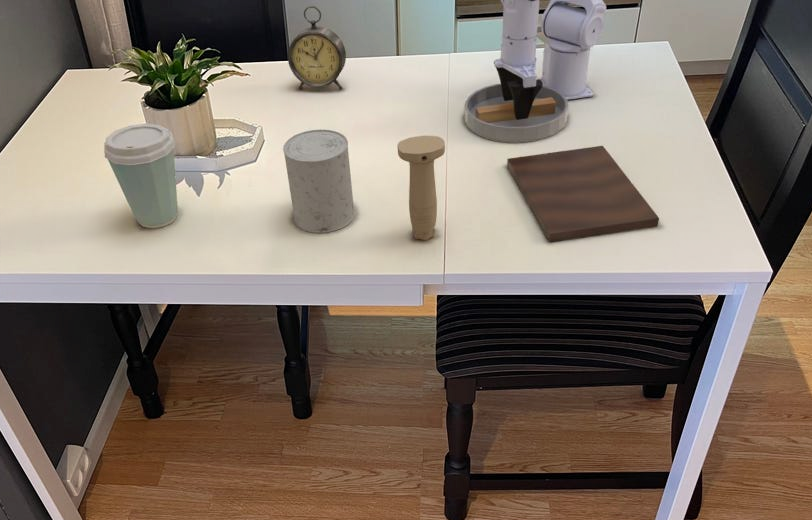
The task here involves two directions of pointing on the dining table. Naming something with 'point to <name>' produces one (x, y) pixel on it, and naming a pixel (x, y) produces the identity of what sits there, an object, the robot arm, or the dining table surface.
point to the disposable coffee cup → (145, 171)
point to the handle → (422, 181)
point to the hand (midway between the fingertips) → (515, 108)
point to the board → (580, 194)
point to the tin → (515, 128)
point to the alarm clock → (316, 55)
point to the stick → (507, 110)
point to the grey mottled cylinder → (319, 180)
